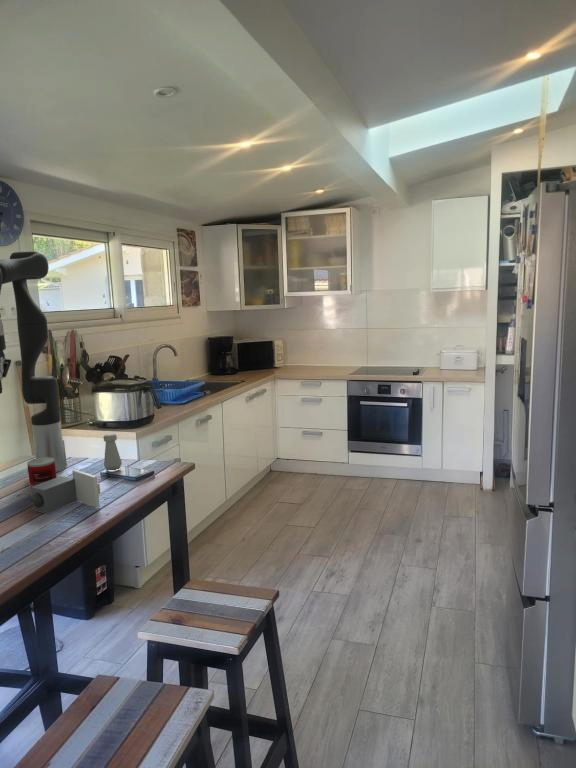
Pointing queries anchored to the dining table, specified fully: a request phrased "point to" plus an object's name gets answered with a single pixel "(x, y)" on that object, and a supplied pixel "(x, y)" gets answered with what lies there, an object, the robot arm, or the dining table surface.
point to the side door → (87, 488)
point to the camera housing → (54, 494)
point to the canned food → (41, 470)
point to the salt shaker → (111, 453)
